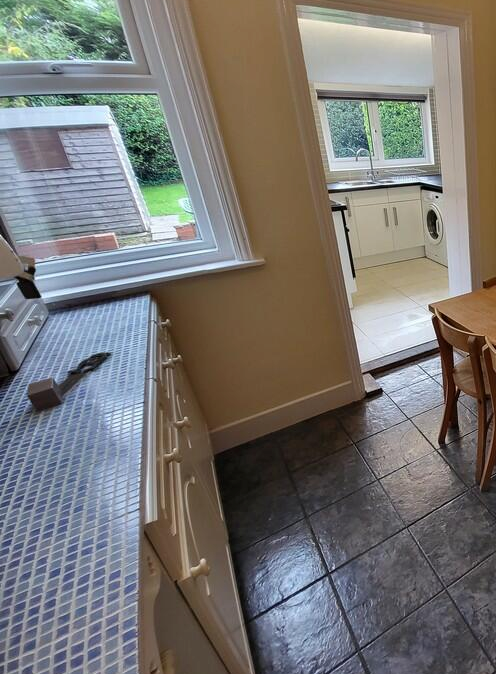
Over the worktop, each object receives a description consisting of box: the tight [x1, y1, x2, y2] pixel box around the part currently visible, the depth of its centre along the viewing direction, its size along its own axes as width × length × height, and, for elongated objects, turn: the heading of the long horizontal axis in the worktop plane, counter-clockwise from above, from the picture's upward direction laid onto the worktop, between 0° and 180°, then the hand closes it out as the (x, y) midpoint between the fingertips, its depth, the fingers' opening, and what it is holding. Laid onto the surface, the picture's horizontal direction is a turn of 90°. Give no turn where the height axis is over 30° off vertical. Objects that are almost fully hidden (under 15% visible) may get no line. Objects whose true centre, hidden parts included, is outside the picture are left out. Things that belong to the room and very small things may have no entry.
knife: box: [58, 351, 112, 399], centre depth 105 cm, size 25×6×1 cm, turn 16°
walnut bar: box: [26, 376, 63, 412], centre depth 94 cm, size 7×4×4 cm, turn 46°
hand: (10, 307), depth 88 cm, fingers open, 9 cm apart
